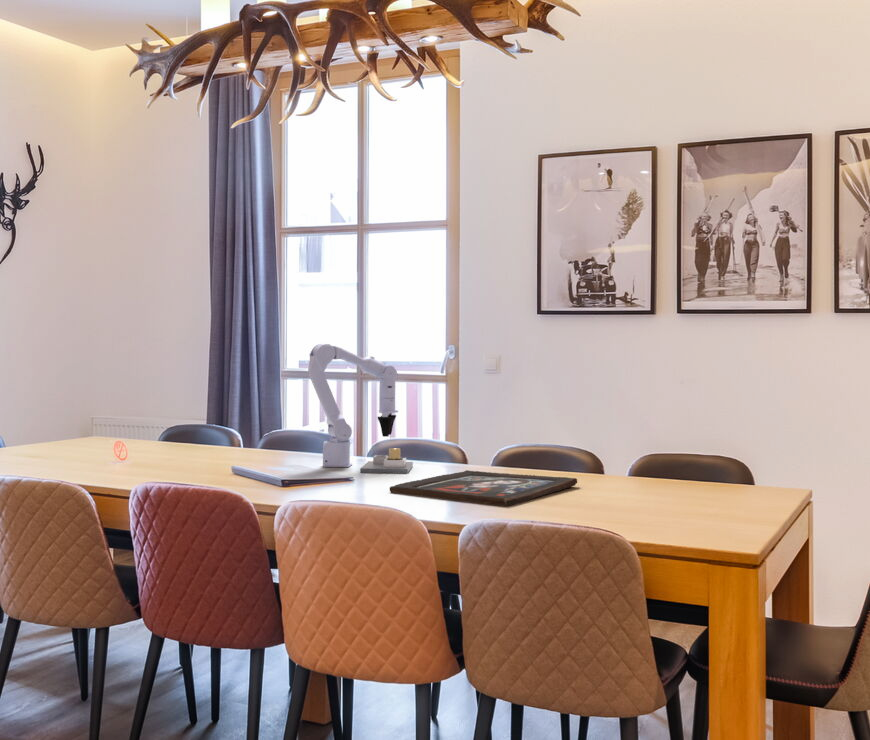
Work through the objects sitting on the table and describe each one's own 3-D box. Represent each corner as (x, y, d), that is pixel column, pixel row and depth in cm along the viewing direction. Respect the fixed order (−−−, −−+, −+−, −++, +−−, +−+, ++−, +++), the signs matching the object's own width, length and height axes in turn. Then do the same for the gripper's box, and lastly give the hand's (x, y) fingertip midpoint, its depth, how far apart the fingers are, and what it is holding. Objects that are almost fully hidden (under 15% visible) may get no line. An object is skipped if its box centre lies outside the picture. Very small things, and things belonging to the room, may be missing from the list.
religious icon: (580, 486, 267) (580, 476, 266) (509, 509, 229) (509, 497, 229) (468, 477, 289) (468, 467, 289) (386, 496, 251) (386, 485, 251)
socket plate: (360, 472, 293) (360, 460, 293) (368, 465, 313) (368, 454, 313) (407, 473, 292) (407, 461, 292) (412, 466, 312) (412, 454, 312)
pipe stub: (388, 466, 298) (388, 449, 298) (388, 465, 302) (389, 448, 302) (400, 466, 298) (400, 449, 298) (400, 465, 302) (400, 448, 302)
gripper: (395, 399, 310) (395, 437, 310) (400, 397, 325) (399, 433, 325) (376, 399, 311) (376, 437, 311) (381, 397, 325) (381, 433, 325)
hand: (386, 435), depth 318 cm, fingers open, 7 cm apart
